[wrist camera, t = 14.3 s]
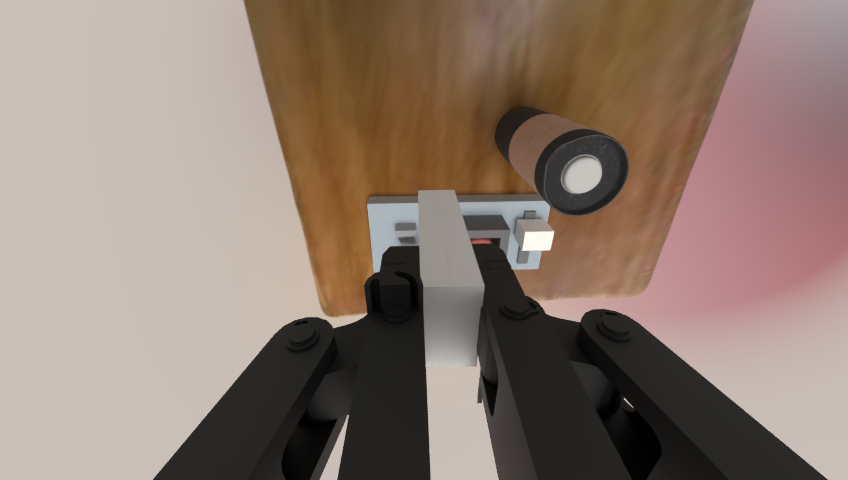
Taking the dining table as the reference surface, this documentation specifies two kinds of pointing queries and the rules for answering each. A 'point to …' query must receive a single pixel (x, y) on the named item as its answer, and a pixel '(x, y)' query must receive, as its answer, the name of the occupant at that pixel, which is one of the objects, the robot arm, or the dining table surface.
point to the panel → (480, 216)
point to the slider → (533, 234)
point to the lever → (407, 241)
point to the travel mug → (563, 160)
